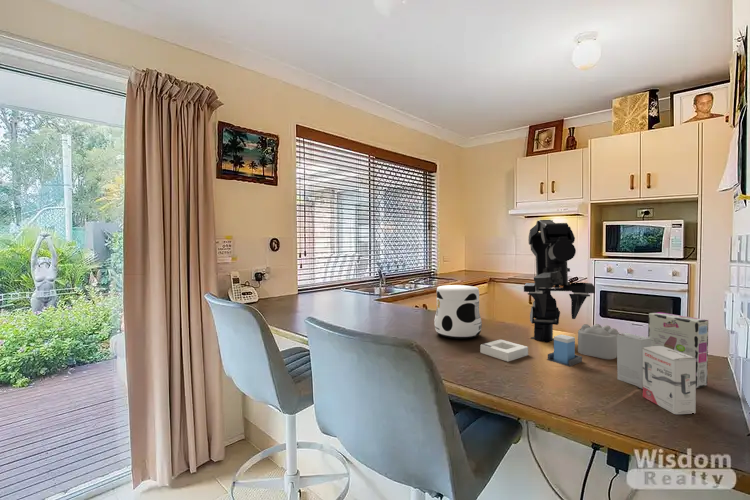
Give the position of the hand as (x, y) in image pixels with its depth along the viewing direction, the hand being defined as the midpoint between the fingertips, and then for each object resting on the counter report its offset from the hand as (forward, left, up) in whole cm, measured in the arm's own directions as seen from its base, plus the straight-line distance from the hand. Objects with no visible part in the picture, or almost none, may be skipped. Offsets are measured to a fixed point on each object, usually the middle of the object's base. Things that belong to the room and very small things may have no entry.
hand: (557, 317), depth 105 cm
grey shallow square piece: (-2, +1, -13) cm, 13 cm away
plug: (-2, +1, -13) cm, 13 cm away
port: (+7, -13, -13) cm, 20 cm away
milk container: (+2, -37, -13) cm, 39 cm away
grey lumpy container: (-19, +3, -13) cm, 23 cm away
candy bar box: (-13, +24, -13) cm, 30 cm away
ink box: (+6, +28, -13) cm, 32 cm away
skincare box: (-1, +19, -13) cm, 23 cm away
